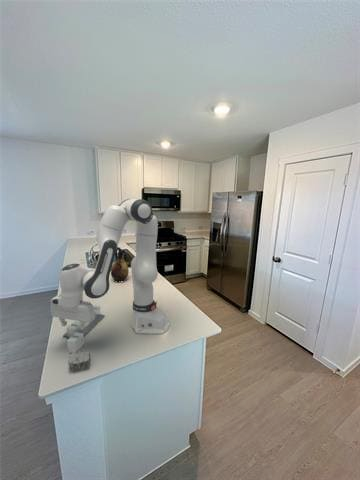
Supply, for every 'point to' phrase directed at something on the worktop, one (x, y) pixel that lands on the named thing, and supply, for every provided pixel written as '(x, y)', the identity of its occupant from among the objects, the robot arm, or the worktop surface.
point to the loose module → (75, 342)
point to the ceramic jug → (119, 267)
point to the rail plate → (88, 326)
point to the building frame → (82, 358)
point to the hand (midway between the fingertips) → (73, 327)
